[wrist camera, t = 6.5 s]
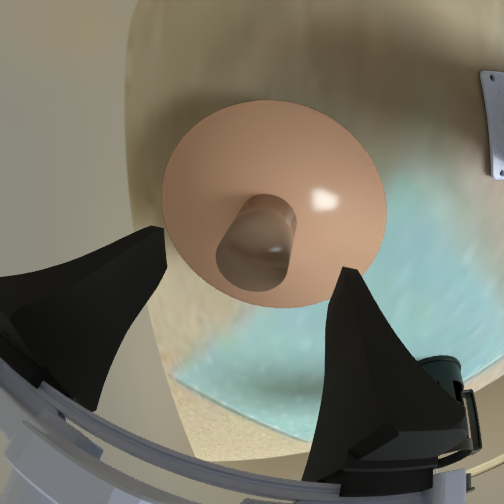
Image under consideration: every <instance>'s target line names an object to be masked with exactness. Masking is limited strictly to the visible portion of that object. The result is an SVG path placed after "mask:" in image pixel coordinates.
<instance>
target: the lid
mask: <svg viewBox="0 0 504 504" xmlns="http://www.w3.org/2000/svg"><path fill="white" fill-rule="evenodd" d="M161 200H162V210H163V216H164V220H165V224H166V227H167V230H168V233H169V235H170V238H171V240H172V242H173V244H174V246H175V247H176V249H177V250H178V252H179V254H180V255H181V257H182V258H183V259H184V260H185V262H186V263H187V264H188V265H189V267H190V268H191V269H192V270H193V271H194V272H195V273H196V274H197V275H198V276H200V277H201V278H202V279H203V280H205V281H206V282H207V283H208V284H210V285H211V286H213V287H214V288H216V289H217V290H219V291H221V292H223V293H225V294H227V295H228V296H231V297H233V298H235V299H238V300H240V301H243V302H247V303H250V304H253V305H258V306H263V307H272V308H295V307H303V306H308V305H313V304H316V303H319V302H322V301H325V300H327V299H330V298H331V296H332V294H333V291H334V289H335V286H336V283H337V280H338V278H339V275H340V272H341V269H342V266H344V267H348V268H353V269H357V270H358V271H359V273H360V274H361V276H362V275H363V274H364V273H365V272H366V271H367V269H368V268H369V266H370V265H371V263H372V262H373V261H374V259H375V257H376V255H377V253H378V251H379V249H380V246H381V243H382V240H383V237H384V233H385V227H386V216H387V206H386V198H385V192H384V188H383V185H382V181H381V178H380V175H379V173H378V171H377V169H376V167H375V165H374V163H373V161H372V159H371V158H370V156H369V155H368V153H367V152H366V150H365V149H364V147H363V146H362V145H361V143H360V142H359V141H358V140H357V139H356V138H355V137H354V136H353V135H352V134H351V133H350V132H349V131H348V130H347V129H346V128H345V127H343V126H342V125H341V124H340V123H338V122H337V121H335V120H334V119H332V118H331V117H329V116H327V115H325V114H324V113H322V112H320V111H317V110H315V109H313V108H310V107H308V106H305V105H301V104H297V103H293V102H289V101H280V100H255V101H250V102H244V103H239V104H235V105H232V106H229V107H226V108H224V109H221V110H219V111H217V112H215V113H213V114H211V115H209V116H207V117H206V118H204V119H203V120H201V121H200V122H199V123H197V124H196V125H195V126H194V127H192V128H191V129H190V131H189V132H188V133H187V134H186V135H185V136H184V137H183V138H182V139H181V141H180V142H179V143H178V145H177V146H176V148H175V149H174V151H173V153H172V155H171V157H170V159H169V161H168V164H167V167H166V170H165V173H164V178H163V183H162V198H161Z"/></svg>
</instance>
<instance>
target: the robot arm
mask: <svg viewBox="0 0 504 504" xmlns="http://www.w3.org/2000/svg"><path fill="white" fill-rule="evenodd" d="M490 75H491V76H492V78H493V80H491V79H490ZM480 79H481V84H482V89H483V95H484V100H485V107H486V114H487V122H488V131H489V143H490V162H491V176H492V177H493V178H494V179H495V180H501V179H504V72H496V71H481V72H480ZM501 170H502V173H501V175H500V171H501ZM166 269H167V260H166V250H165V240H164V228H160V227H155V226H149V227H146V228H143V229H141V230H139V231H136V232H134V233H132V234H130V235H128V236H126V237H124V238H122V239H119V240H117V241H115V242H114V243H111V244H110V245H107V246H105V247H102V248H100V249H98V250H96V251H94V252H91V253H89V254H87V255H84V256H82V257H79V258H77V259H74V260H71V261H69V262H66V263H63V264H60V265H57V266H53V267H50V268H46V269H43V270H39V271H35V272H31V273H25V274H20V275H13V276H5V277H0V429H1V431H2V432H3V433H4V434H5V436H6V437H7V438H8V439H9V440H10V442H9V444H8V445H7V447H6V449H5V457H6V459H7V461H8V462H9V464H11V466H12V467H13V470H12V472H11V475H10V477H9V479H8V481H7V483H6V485H5V487H4V490H3V492H2V494H1V496H0V504H200V503H197V502H193V501H191V500H187V499H184V498H182V497H179V496H176V495H173V494H171V493H168V492H165V491H163V490H160V489H158V488H155V487H153V486H151V485H148V484H146V483H144V482H141V481H139V480H137V479H135V478H133V477H131V476H129V475H127V474H125V473H123V472H121V471H119V470H117V469H115V468H113V467H111V466H109V465H107V464H106V463H104V462H102V461H100V457H101V455H102V453H103V449H102V448H101V447H99V446H98V445H96V444H95V443H93V442H92V441H91V440H89V439H88V438H87V437H85V436H84V435H83V434H82V433H81V432H80V431H78V430H77V429H75V428H74V427H73V426H71V425H70V424H68V423H67V422H66V419H65V417H66V418H67V419H69V420H70V421H72V422H73V423H75V424H76V425H78V426H80V427H81V428H83V429H84V430H86V431H88V432H89V433H91V434H93V435H94V436H96V437H98V438H100V439H102V440H103V441H105V442H107V443H109V444H110V445H112V446H114V447H116V448H118V449H120V450H122V451H124V452H126V453H128V454H130V455H133V456H134V457H137V458H139V459H141V460H143V461H146V462H148V463H150V464H153V465H155V466H157V467H160V468H162V469H165V470H167V471H170V472H173V473H176V474H178V475H181V476H184V477H187V478H190V479H193V480H196V481H199V482H203V483H206V484H209V485H213V486H216V487H220V488H224V489H228V490H232V491H236V492H240V493H245V494H250V495H255V496H261V497H267V498H273V499H280V500H287V501H296V502H293V503H291V504H466V469H465V468H462V469H457V470H452V471H447V472H442V473H438V474H435V475H433V468H434V467H437V465H438V456H439V455H441V454H443V453H445V452H447V451H448V450H450V449H452V448H454V447H455V446H457V445H458V444H460V443H461V442H462V441H463V440H464V439H465V438H466V437H467V435H468V424H467V417H466V411H465V407H464V406H462V405H461V404H460V403H459V402H458V401H457V400H455V399H454V398H453V397H452V396H451V395H450V394H448V393H447V392H446V391H445V390H444V389H443V388H442V387H441V386H440V385H439V384H438V383H437V382H436V381H435V380H434V379H433V378H432V377H431V376H430V375H429V374H428V373H427V372H426V371H425V370H424V369H423V368H422V366H421V365H420V364H419V363H418V362H417V361H416V360H415V358H414V357H413V356H412V355H411V354H410V352H409V351H408V350H407V348H406V347H405V346H404V344H403V343H402V342H401V340H400V339H399V338H398V336H397V335H396V333H395V332H394V331H393V329H392V328H391V326H390V324H389V323H388V321H387V320H386V318H385V317H384V315H383V313H382V312H381V310H380V308H379V307H378V305H377V303H376V302H375V300H374V298H373V296H372V295H371V293H370V291H369V289H368V287H367V285H366V284H365V282H364V280H363V278H362V276H361V274H360V273H359V271H358V270H357V269H353V268H348V267H344V266H342V269H341V272H340V275H339V278H338V280H337V283H336V286H335V289H334V291H333V294H332V296H331V299H330V302H329V304H328V311H327V319H326V327H325V376H324V387H323V393H322V399H321V405H320V411H319V416H318V421H317V425H316V430H315V434H314V438H313V442H312V446H311V450H310V454H309V457H308V461H307V464H306V467H305V471H304V474H303V477H302V480H301V481H297V480H289V479H282V478H276V477H270V476H264V475H259V474H254V473H249V472H245V471H240V470H236V469H232V468H228V467H224V466H221V465H217V464H213V463H210V462H207V461H203V460H200V459H197V458H194V457H191V456H188V455H185V454H182V453H179V452H176V451H174V450H171V449H169V448H166V447H163V446H161V445H158V444H156V443H154V442H151V441H149V440H146V439H144V438H142V437H140V436H137V435H135V434H133V433H131V432H129V431H126V430H125V429H123V428H121V427H118V426H116V425H115V424H113V423H111V422H109V421H107V420H105V419H103V418H101V417H100V416H98V415H96V414H94V413H92V412H93V411H96V409H97V405H98V402H99V398H100V395H101V392H102V388H103V385H104V382H105V380H106V377H107V374H108V372H109V369H110V367H111V364H112V362H113V360H114V357H115V355H116V353H117V351H118V348H119V347H120V344H121V342H122V340H123V339H124V337H125V334H126V333H127V331H128V329H129V328H130V326H131V324H132V323H133V321H134V320H135V318H136V317H137V316H138V314H139V313H140V311H141V310H142V308H143V307H144V305H145V304H146V303H147V301H148V300H149V298H150V297H151V295H152V294H153V293H154V291H155V290H156V288H157V287H158V285H159V283H160V281H161V279H162V277H163V275H164V273H165V271H166ZM240 504H290V503H282V502H271V501H263V500H255V499H249V498H246V499H244V500H243V502H241V503H240Z"/></svg>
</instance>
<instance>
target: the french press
mask: <svg viewBox="0 0 504 504" xmlns="http://www.w3.org/2000/svg"><path fill="white" fill-rule="evenodd" d="M418 363H419V364H420V365H421V366H422V368H423V369H424V370H425V371H426V372H427V373H428V374H429V375H430V376H431V377H432V378H433V379H434V380H435V381H436V382H439V383H440V386H441V387H442V388H443V389H444V390H445V391H446V392H447V393H448V394H450V395H451V396H452V397H453V398H454V399H455V400H457V401H458V402H459V403H460V404H461V405H462V406H464V401H463V398H465V399H466V403H467V410H468V416H469V422H470V430H471V438H469V436H468V435H467V437H466V438H465V439H464V440H463V441H462V442H461V443H460V444H458V445H457V446H455V447H454V448H452V449H450V450H448V451H447V452H445V453H449V452H454V451H458V452H456V453H454V454H452V455H449V456H447V457H444V458H441V459H438V465H437V467H434V468H433V470H434V475H435V474H437V469H438V468H441V467H445V466H448V465H450V464H453V463H455V462H457V461H460V460H462V459H463V458H465V457H467V456H470V455H473V454H475V453H476V452H478V451H480V450H481V448H482V441H481V433H480V426H479V419H478V413H477V407H476V402H475V397H474V392H473V390H472V389H469V390H463V389H464V385H463V380H462V376H461V372H460V371H461V365H460V362H459V361H458V360H457V359H456V358H454V357H451V356H435V357H431V358H427V359H424V360H421V361H419V362H418ZM464 407H465V406H464ZM465 411H466V408H465ZM459 450H460V451H459ZM445 453H443V454H445ZM473 490H475V487H471V474H470V473H467V474H466V493H468V492H470V491H473Z"/></svg>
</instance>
